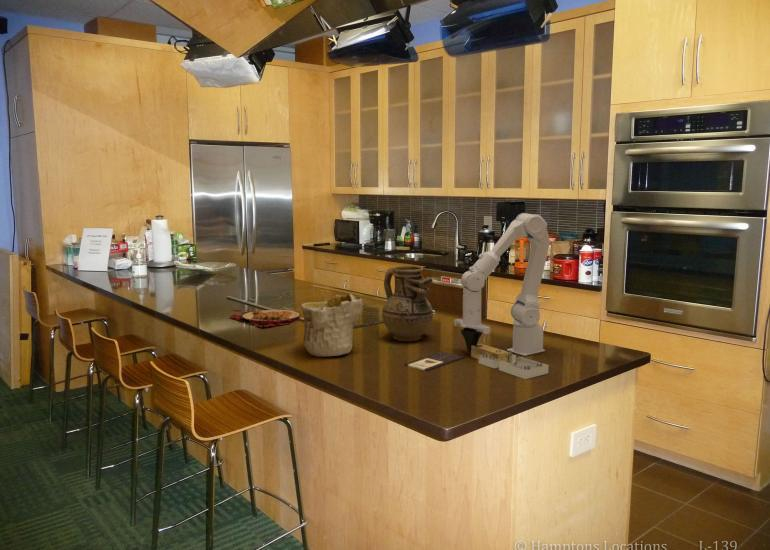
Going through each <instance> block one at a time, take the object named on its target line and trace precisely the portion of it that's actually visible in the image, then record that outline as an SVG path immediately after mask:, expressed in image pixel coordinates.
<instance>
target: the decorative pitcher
mask: <svg viewBox="0 0 770 550" xmlns="http://www.w3.org/2000/svg"><path fill="white" fill-rule="evenodd" d="M423 271H424V268H423V267H422V266H418V265H417V266H416V265H415V266H414V265H402V266H393V267H390V268H388V269H387V270H386V272H385V274H384V278H383V288H384V292H385V295H386V300H387V301H385V303H384V305H383V308H382V312H381V317H382V321H383V324H384V325H385V327H386V329H387V330H388V332H389V333H390V334H392V338H393V339H394V340H396V341H401V342H415V341H419V340H420V339H422V336H423V334H425V333H426V332H427V331H428V329H429V328H430V326H431V325H432V322H433V317H434V311H433V307H432V304H431V303H430V301H429V300H428V299H427V297H426V296H427V295H429V294H430V289H429V288H428V287H427V286H428V285H431V284H432V283H433V278H431V277H427V278H425V277H424V276H423ZM392 277H394V291H393V290H392V286H391V281H392Z"/></svg>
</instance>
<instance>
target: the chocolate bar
mask: <svg viewBox="0 0 770 550" xmlns="http://www.w3.org/2000/svg"><path fill="white" fill-rule="evenodd" d="M464 359H465V356H464V355H459V354H455V353H451V352H450V353H449V352H445V351H438V352H435V353H433V354H430V355H428V356H427V355H426V356H424V357H421V358H418V359H414V360H412V361H408V362H406V363H404V366H406V367H409V368H413V369H417V370H421V371H425V372H430V371H433V370H435V369H439V368H441V367H445V366H447V365H450V364H452V363H454V362H457V361H461V360H464Z"/></svg>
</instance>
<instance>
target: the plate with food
mask: <svg viewBox="0 0 770 550" xmlns="http://www.w3.org/2000/svg"><path fill="white" fill-rule="evenodd" d="M231 311H233V312H238V313H240V312H242V310H241V309H231ZM300 315H301V313H300V312H297V311H296V310H288V309H287V308H286V309H265V310H263V309H262V310H259V309H257V310H251V311H249V310H247V311H243V312H242V314H241V315H237V314H232V315H229V317H230V318H232V319H235V321H238V322H239V321H241V322H243V323H246V324H249V325H252V326H253V327H258V326H259V328H270V327H278V326H282V325H283V326H284V325H288V324H289V325H292V324H296V323H297V322H298V321H299V320H300V317H299V316H300ZM298 317H299V318H298ZM243 319H246V320H248V322H249V323H247V322H246V321H245V320H243ZM302 322H303V323H304V321H302Z"/></svg>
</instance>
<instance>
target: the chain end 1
mask: <svg viewBox="0 0 770 550" xmlns="http://www.w3.org/2000/svg"><path fill="white" fill-rule="evenodd" d="M503 350H504V351H506V350H505V349H503ZM507 352H508V362H509V363H512V364H515V365H516V364H517V355H516V354H515V353H514V354H513V352H510V351H507ZM478 364H480V365H482V366H485V367H489V368H492V369H497V368H498V369H499V366H498V359H496V358H494V356H487V354H482V355H479V359H478Z"/></svg>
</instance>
